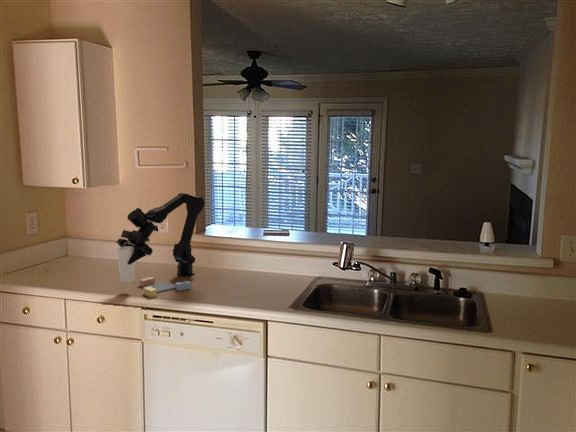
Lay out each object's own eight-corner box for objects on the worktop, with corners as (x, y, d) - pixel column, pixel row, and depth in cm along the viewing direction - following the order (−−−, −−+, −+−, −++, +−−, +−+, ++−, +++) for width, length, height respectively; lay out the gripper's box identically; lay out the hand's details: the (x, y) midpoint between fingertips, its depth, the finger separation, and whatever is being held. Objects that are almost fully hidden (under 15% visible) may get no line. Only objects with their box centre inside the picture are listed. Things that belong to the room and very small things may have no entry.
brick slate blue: (188, 287, 217) (188, 280, 216) (190, 289, 214) (190, 282, 214) (175, 289, 214) (175, 282, 213) (177, 291, 211) (177, 284, 211)
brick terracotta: (151, 283, 222) (151, 276, 222) (154, 284, 220) (154, 278, 220) (139, 286, 218) (139, 279, 217) (143, 287, 216) (143, 281, 215)
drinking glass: (130, 284, 205) (128, 250, 202) (115, 283, 206) (113, 249, 204) (138, 279, 211) (136, 246, 209) (124, 278, 212) (122, 245, 210)
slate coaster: (166, 282, 223) (166, 281, 223) (179, 287, 215) (179, 286, 215) (144, 287, 215) (144, 285, 215) (157, 292, 208) (157, 291, 208)
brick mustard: (143, 294, 206) (143, 287, 206) (150, 293, 208) (149, 286, 208) (150, 297, 202) (150, 291, 201) (157, 296, 204) (156, 289, 203)
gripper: (119, 220, 213) (98, 249, 206) (145, 225, 202) (124, 255, 195) (134, 235, 221) (115, 263, 214) (161, 240, 210) (141, 270, 203)
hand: (123, 262), depth 206 cm, fingers closed on drinking glass, 6 cm apart
